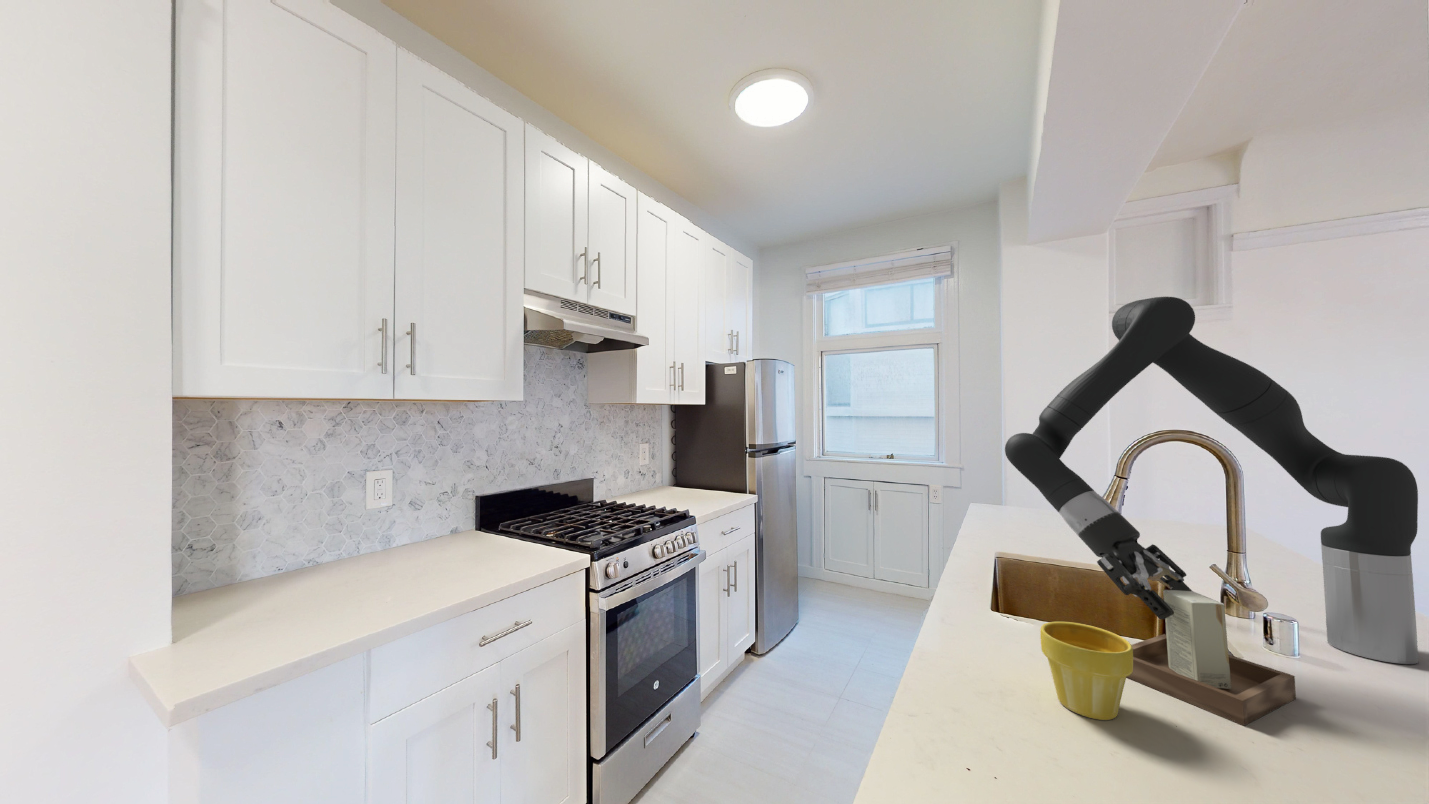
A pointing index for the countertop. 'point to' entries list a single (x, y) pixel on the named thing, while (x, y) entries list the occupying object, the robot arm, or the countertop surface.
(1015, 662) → the countertop surface
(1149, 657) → the walnut tray
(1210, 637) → the skincare box
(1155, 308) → the robot arm
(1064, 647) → the plant pot
